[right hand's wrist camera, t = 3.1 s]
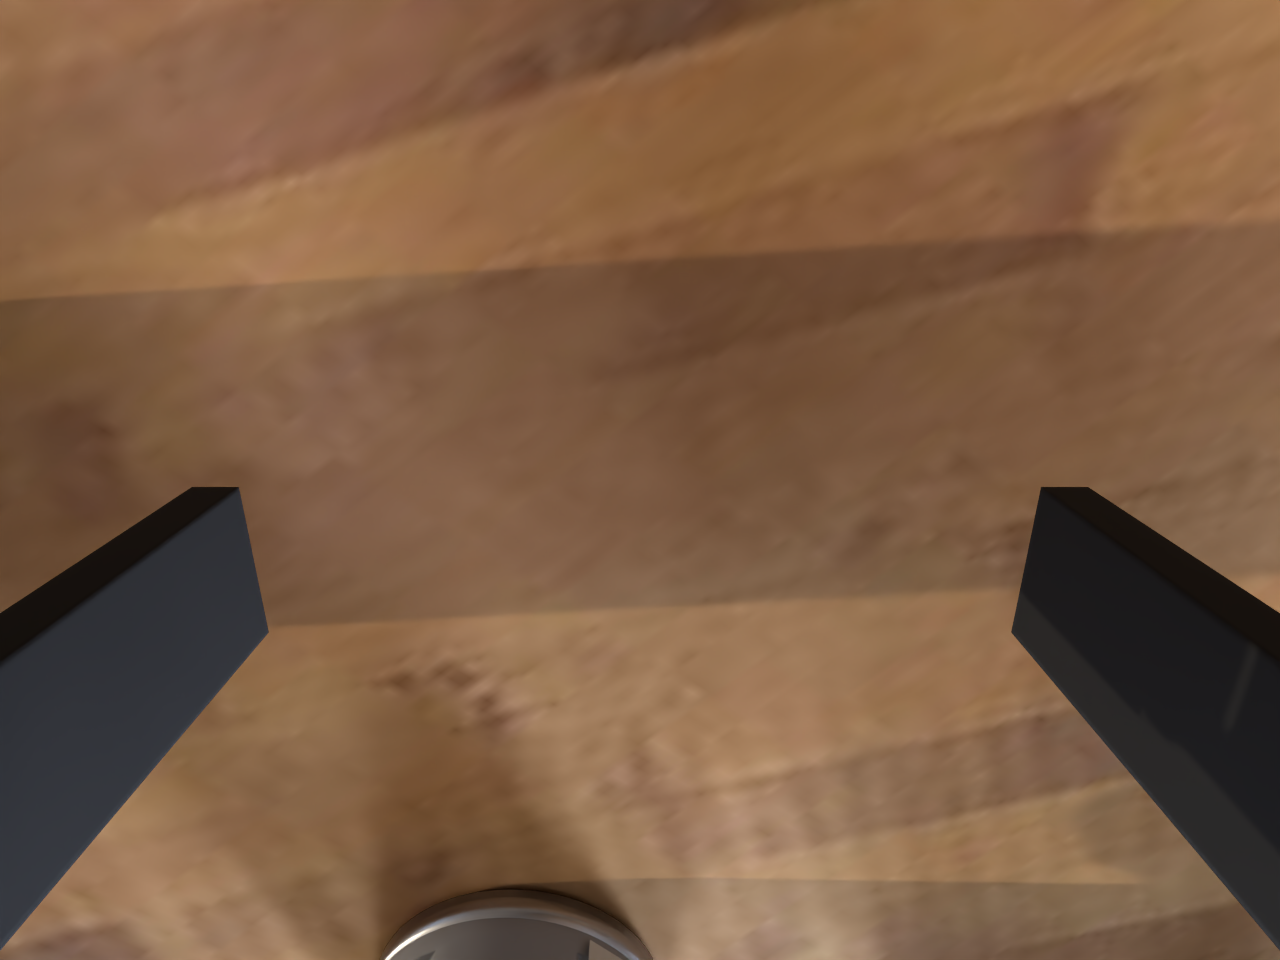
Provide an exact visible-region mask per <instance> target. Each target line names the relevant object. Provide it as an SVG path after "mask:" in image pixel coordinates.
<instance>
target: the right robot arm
mask: <svg viewBox="0 0 1280 960" xmlns="http://www.w3.org/2000/svg"><path fill="white" fill-rule="evenodd" d="M267 634H268V627H267V622H266V617H265V612H264V607H263V603H262V598H261V593H260V588H259V583H258V578H257V573H256V569H255V564H254V559H253V554H252V549H251V544H250V539H249V535H248V530H247V525H246V520H245V515H244V510H243V505H242V500H241V496H240V491H239V487H191V488H190V489H188V490H187V491H185V492H184V493H182V494H181V495H179V496H178V497H176V498H175V499H173V500H172V501H170V502H169V503H167V504H166V505H164V506H163V507H161V508H160V509H158V510H156V511H155V512H153V513H152V514H150V515H149V516H147V517H146V518H144V519H143V520H141V521H140V522H138V523H137V524H135V525H134V526H132V527H131V528H129V529H128V530H126V531H125V532H123V533H122V534H120V535H119V536H117V537H115V538H114V539H112V540H111V541H109V542H108V543H106V544H105V545H103V546H102V547H100V548H99V549H97V550H96V551H94V552H93V553H91V554H90V555H88V556H87V557H85V558H84V559H82V560H81V561H79V562H77V563H76V564H74V565H73V566H71V567H70V568H68V569H67V570H65V571H64V572H62V573H61V574H59V575H58V576H56V577H55V578H53V579H52V580H50V581H49V582H47V583H46V584H44V585H43V586H41V587H39V588H38V589H36V590H35V591H33V592H32V593H30V594H29V595H27V596H26V597H24V598H23V599H21V600H20V601H18V602H17V603H15V604H14V605H12V606H11V607H9V608H8V609H6V610H5V611H3V612H1V613H0V950H1V949H2V948H3V946H4V945H5V944H6V943H7V942H8V941H9V939H10V938H11V937H12V936H13V935H14V933H15V932H16V931H17V930H18V929H19V927H20V926H21V925H22V924H23V923H24V922H25V920H26V919H27V918H28V917H29V916H30V914H31V913H32V912H33V911H34V910H35V909H36V907H37V906H38V905H39V904H40V903H41V901H42V900H43V899H44V898H45V897H46V895H47V894H48V893H49V892H50V891H51V890H52V888H53V887H54V886H55V885H56V884H57V882H58V881H59V880H60V879H61V878H62V877H63V875H64V874H65V873H66V872H67V871H68V869H69V868H70V867H71V866H72V865H73V863H74V862H75V861H76V860H77V859H78V858H79V856H80V855H81V854H82V853H83V852H84V850H85V849H86V848H87V847H88V846H89V845H90V843H91V842H92V841H93V840H94V839H95V837H96V836H97V835H98V834H99V833H100V832H101V830H102V829H103V828H104V827H105V826H106V824H107V823H108V822H109V821H110V820H111V818H112V817H113V816H114V815H115V814H116V813H117V811H118V810H119V809H120V808H121V807H122V805H123V804H124V803H125V802H126V801H127V800H128V798H129V797H130V796H131V795H132V794H133V792H134V791H135V790H136V789H137V788H138V786H139V785H140V784H141V783H142V782H143V781H144V779H145V778H146V777H147V776H148V775H149V773H150V772H151V771H152V770H153V769H154V768H155V766H156V765H157V764H158V763H159V762H160V760H161V759H162V758H163V757H164V756H165V754H166V753H167V752H168V751H169V750H170V749H171V747H172V746H173V745H174V744H175V743H176V741H177V740H178V739H179V738H180V737H181V736H182V734H183V733H184V732H185V731H186V730H187V728H188V727H189V726H190V725H191V724H192V723H193V721H194V720H195V719H196V718H197V717H198V715H199V714H200V713H201V712H202V711H203V709H204V708H205V707H206V706H207V705H208V704H209V702H210V701H211V700H212V699H213V698H214V696H215V695H216V694H217V693H218V692H219V691H220V689H221V688H222V687H223V686H224V685H225V683H226V682H227V681H228V680H229V679H230V677H231V676H232V675H233V674H234V673H235V672H236V670H237V669H238V668H239V667H240V666H241V664H242V663H243V662H244V661H245V660H246V659H247V657H248V656H249V655H250V654H251V653H252V651H253V650H254V649H255V648H256V647H257V645H258V644H259V643H260V642H261V641H262V640H263V638H264V637H265V636H266V635H267ZM1012 634H1013V635H1014V636H1015V637H1016V638H1017V640H1018V641H1019V642H1020V643H1021V644H1022V645H1023V647H1024V648H1025V649H1026V650H1027V651H1028V653H1029V654H1030V655H1031V656H1032V657H1033V659H1034V660H1035V661H1036V662H1037V663H1038V664H1039V666H1040V667H1041V668H1042V669H1043V670H1044V672H1045V673H1046V674H1047V675H1048V676H1049V677H1050V679H1051V680H1052V681H1053V682H1054V683H1055V685H1056V686H1057V687H1058V688H1059V689H1060V691H1061V692H1062V693H1063V694H1064V695H1065V696H1066V698H1067V699H1068V700H1069V701H1070V702H1071V704H1072V705H1073V706H1074V707H1075V708H1076V709H1077V711H1078V712H1079V713H1080V714H1081V715H1082V717H1083V718H1084V719H1085V720H1086V721H1087V723H1088V724H1089V725H1090V726H1091V727H1092V728H1093V730H1094V731H1095V732H1096V733H1097V734H1098V736H1099V737H1100V738H1101V739H1102V740H1103V741H1104V743H1105V744H1106V745H1107V746H1108V747H1109V749H1110V750H1111V751H1112V752H1113V753H1114V754H1115V756H1116V757H1117V758H1118V759H1119V760H1120V762H1121V763H1122V764H1123V765H1124V766H1125V768H1126V769H1127V770H1128V771H1129V772H1130V773H1131V775H1132V776H1133V777H1134V778H1135V779H1136V781H1137V782H1138V783H1139V784H1140V785H1141V786H1142V788H1143V789H1144V790H1145V791H1146V792H1147V794H1148V795H1149V796H1150V797H1151V798H1152V800H1153V801H1154V802H1155V803H1156V804H1157V805H1158V807H1159V808H1160V809H1161V810H1162V811H1163V813H1164V814H1165V815H1166V816H1167V817H1168V818H1169V820H1170V821H1171V822H1172V823H1173V824H1174V826H1175V827H1176V828H1177V829H1178V830H1179V832H1180V833H1181V834H1182V835H1183V836H1184V837H1185V839H1186V840H1187V841H1188V842H1189V843H1190V845H1191V846H1192V847H1193V848H1194V849H1195V850H1196V852H1197V853H1198V854H1199V855H1200V856H1201V858H1202V859H1203V860H1204V861H1205V862H1206V863H1207V865H1208V866H1209V867H1210V868H1211V869H1212V871H1213V872H1214V873H1215V874H1216V875H1217V877H1218V878H1219V879H1220V880H1221V881H1222V882H1223V884H1224V885H1225V886H1226V887H1227V888H1228V890H1229V891H1230V892H1231V893H1232V894H1233V895H1234V897H1235V898H1236V899H1237V900H1238V901H1239V903H1240V904H1241V905H1242V906H1243V907H1244V909H1245V910H1246V911H1247V912H1248V913H1249V914H1250V916H1251V917H1252V918H1253V919H1254V920H1255V922H1256V923H1257V924H1258V925H1259V926H1260V927H1261V929H1262V930H1263V931H1264V932H1265V933H1266V935H1267V936H1268V937H1269V938H1270V939H1271V941H1272V942H1273V943H1274V944H1275V945H1276V946H1277V948H1278V949H1279V950H1280V613H1279V612H1277V611H1275V610H1274V609H1272V608H1271V607H1269V606H1268V605H1266V604H1265V603H1263V602H1262V601H1260V600H1259V599H1257V598H1256V597H1254V596H1253V595H1251V594H1250V593H1248V592H1247V591H1245V590H1244V589H1242V588H1241V587H1239V586H1237V585H1236V584H1234V583H1233V582H1231V581H1230V580H1228V579H1227V578H1225V577H1224V576H1222V575H1221V574H1219V573H1218V572H1216V571H1215V570H1213V569H1212V568H1210V567H1209V566H1207V565H1206V564H1204V563H1203V562H1201V561H1199V560H1198V559H1196V558H1195V557H1193V556H1192V555H1190V554H1189V553H1187V552H1186V551H1184V550H1183V549H1181V548H1180V547H1178V546H1177V545H1175V544H1174V543H1172V542H1171V541H1169V540H1168V539H1166V538H1165V537H1163V536H1161V535H1160V534H1158V533H1157V532H1155V531H1154V530H1152V529H1151V528H1149V527H1148V526H1146V525H1145V524H1143V523H1142V522H1140V521H1139V520H1137V519H1136V518H1134V517H1133V516H1131V515H1130V514H1128V513H1127V512H1125V511H1124V510H1122V509H1120V508H1119V507H1117V506H1116V505H1114V504H1113V503H1111V502H1110V501H1108V500H1107V499H1105V498H1104V497H1102V496H1101V495H1099V494H1098V493H1096V492H1095V491H1093V490H1092V489H1090V488H1089V487H1041V491H1040V496H1039V500H1038V505H1037V510H1036V515H1035V520H1034V525H1033V530H1032V535H1031V539H1030V544H1029V549H1028V554H1027V559H1026V564H1025V569H1024V573H1023V578H1022V583H1021V588H1020V593H1019V598H1018V603H1017V607H1016V612H1015V617H1014V622H1013V627H1012ZM380 960H653V958H652V956H651V955H650V953H649V951H648V950H647V948H646V947H645V946H644V945H643V943H642V942H641V941H640V940H639V939H638V938H637V937H636V936H635V935H634V934H633V933H632V932H631V931H630V930H629V929H628V928H626V927H625V926H624V925H623V924H622V923H620V922H619V921H617V920H616V919H614V918H613V917H611V916H609V915H608V914H606V913H604V912H602V911H600V910H599V909H596V908H594V907H592V906H590V905H588V904H585V903H582V902H580V901H577V900H574V899H571V898H567V897H564V896H560V895H555V894H550V893H545V892H538V891H530V890H492V891H483V892H477V893H471V894H467V895H463V896H459V897H455V898H452V899H449V900H446V901H443V902H441V903H439V904H436V905H434V906H432V907H430V908H428V909H426V910H424V911H423V912H421V913H419V914H418V915H416V916H415V917H413V918H412V919H411V920H409V921H408V922H407V923H406V924H405V925H403V926H402V927H401V928H400V929H399V930H398V931H397V932H396V934H395V935H394V936H393V937H392V938H391V940H390V941H389V943H388V944H387V946H386V948H385V949H384V951H383V953H382V956H381V958H380Z"/></svg>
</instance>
